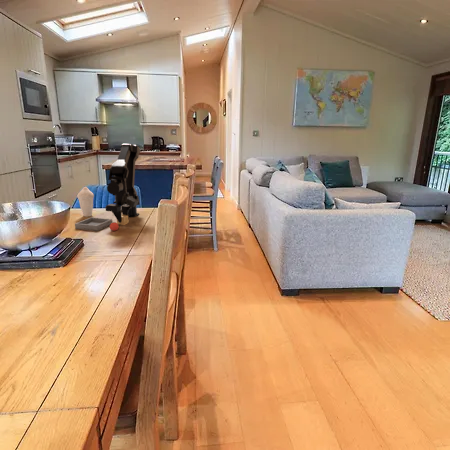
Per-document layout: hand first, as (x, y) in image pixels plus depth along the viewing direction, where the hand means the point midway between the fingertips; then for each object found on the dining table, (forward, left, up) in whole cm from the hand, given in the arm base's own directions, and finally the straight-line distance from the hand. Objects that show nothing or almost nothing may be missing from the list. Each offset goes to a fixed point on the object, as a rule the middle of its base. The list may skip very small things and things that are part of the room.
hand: (122, 221), depth 157 cm
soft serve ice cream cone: (-7, -26, -1) cm, 27 cm away
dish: (+9, -10, -1) cm, 13 cm away
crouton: (0, 0, -1) cm, 1 cm away
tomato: (+12, +3, -1) cm, 12 cm away
